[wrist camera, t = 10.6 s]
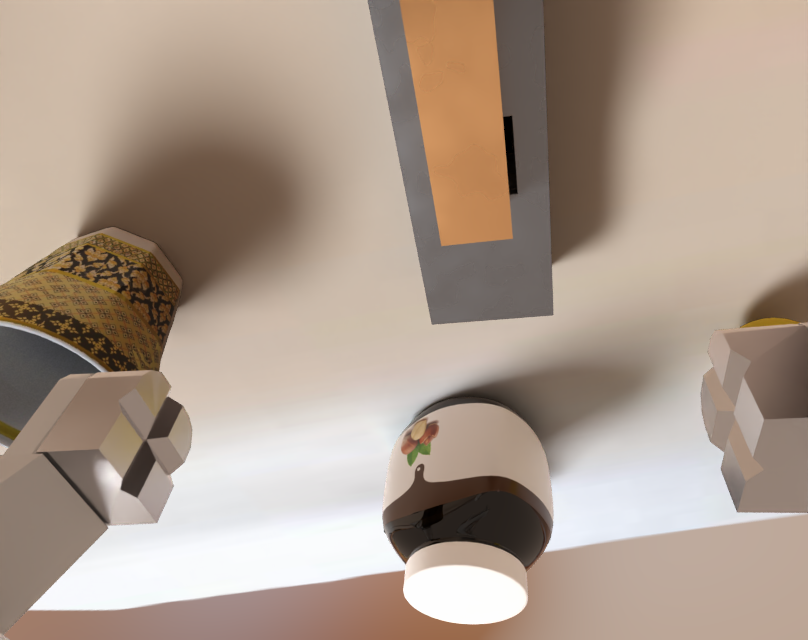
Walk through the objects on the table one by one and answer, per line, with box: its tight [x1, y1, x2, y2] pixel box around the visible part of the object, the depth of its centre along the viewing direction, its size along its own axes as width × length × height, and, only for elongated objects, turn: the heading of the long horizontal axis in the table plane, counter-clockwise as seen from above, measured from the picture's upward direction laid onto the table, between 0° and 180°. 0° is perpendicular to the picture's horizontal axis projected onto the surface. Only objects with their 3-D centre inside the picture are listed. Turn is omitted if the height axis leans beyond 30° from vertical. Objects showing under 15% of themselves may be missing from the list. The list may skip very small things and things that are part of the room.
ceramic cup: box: [0, 227, 183, 448], centre depth 33 cm, size 13×10×10 cm
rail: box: [368, 0, 553, 324], centre depth 23 cm, size 26×6×4 cm, turn 10°
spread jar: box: [382, 397, 553, 624], centre depth 39 cm, size 12×11×12 cm
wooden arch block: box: [399, 0, 513, 246], centre depth 22 cm, size 13×3×7 cm, turn 11°
